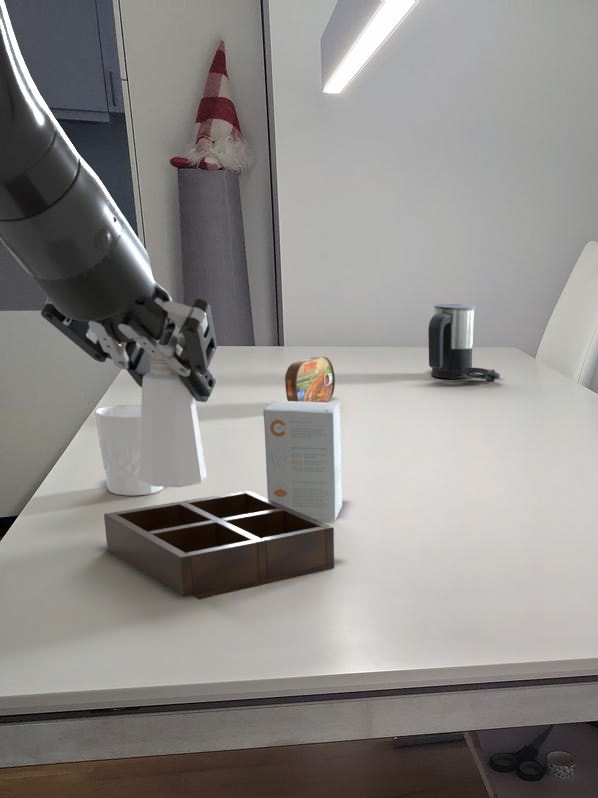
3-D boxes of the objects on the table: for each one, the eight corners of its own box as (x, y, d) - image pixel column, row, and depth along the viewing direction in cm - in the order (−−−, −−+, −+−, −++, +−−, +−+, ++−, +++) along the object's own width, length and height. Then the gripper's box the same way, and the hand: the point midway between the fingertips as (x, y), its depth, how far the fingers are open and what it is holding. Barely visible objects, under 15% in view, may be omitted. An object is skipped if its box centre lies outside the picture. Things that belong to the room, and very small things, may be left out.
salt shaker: (125, 481, 84) (113, 342, 79) (165, 467, 88) (157, 335, 84) (181, 491, 82) (173, 349, 78) (220, 476, 87) (214, 341, 82)
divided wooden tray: (184, 602, 97) (180, 557, 95) (107, 555, 108) (103, 513, 107) (334, 568, 108) (334, 527, 106) (250, 528, 119) (248, 490, 117)
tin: (298, 414, 181) (297, 364, 177) (282, 412, 181) (281, 363, 178) (336, 400, 194) (336, 354, 190) (321, 398, 195) (320, 352, 191)
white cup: (157, 498, 128) (150, 418, 125) (94, 496, 128) (85, 415, 125) (175, 482, 136) (169, 406, 132) (115, 480, 136) (107, 403, 132)
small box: (342, 507, 128) (341, 402, 123) (335, 522, 123) (333, 412, 117) (277, 504, 128) (273, 399, 123) (267, 519, 122) (262, 409, 117)
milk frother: (435, 371, 230) (436, 302, 225) (505, 376, 229) (508, 306, 223) (423, 381, 217) (424, 308, 212) (497, 386, 216) (500, 312, 210)
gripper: (180, 196, 68) (275, 361, 84) (3, 185, 72) (125, 345, 87) (137, 285, 66) (243, 438, 81) (-44, 268, 69) (90, 418, 85)
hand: (181, 389), depth 84 cm, fingers closed on salt shaker, 4 cm apart
